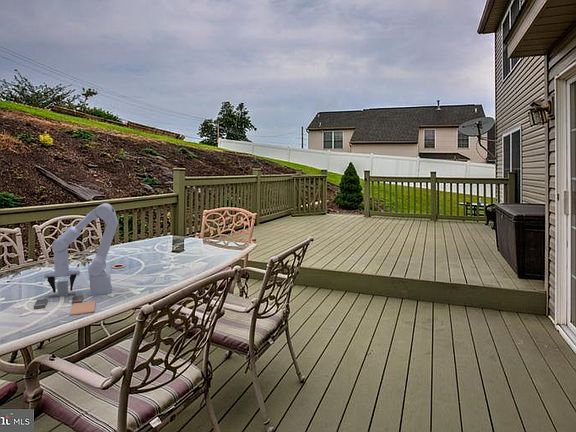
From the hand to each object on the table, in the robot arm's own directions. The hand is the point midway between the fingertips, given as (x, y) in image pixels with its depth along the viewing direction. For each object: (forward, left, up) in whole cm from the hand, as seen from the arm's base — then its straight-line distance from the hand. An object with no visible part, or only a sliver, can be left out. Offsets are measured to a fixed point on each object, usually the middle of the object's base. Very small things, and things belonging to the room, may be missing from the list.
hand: (63, 291), depth 170 cm
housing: (0, +12, -2) cm, 12 cm away
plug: (0, -2, -2) cm, 3 cm away
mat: (-10, +23, -2) cm, 25 cm away
